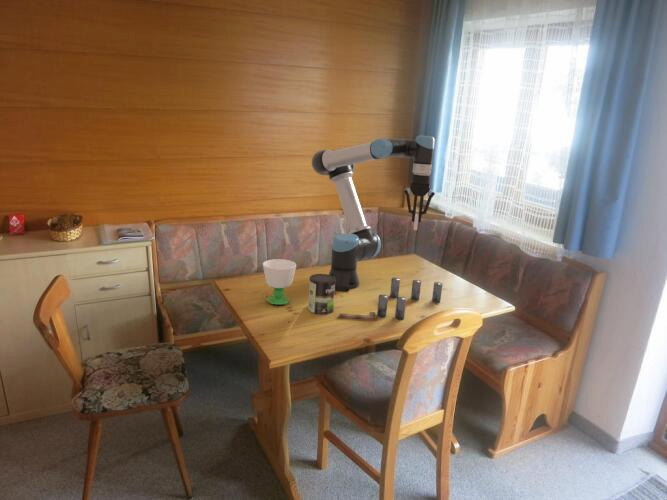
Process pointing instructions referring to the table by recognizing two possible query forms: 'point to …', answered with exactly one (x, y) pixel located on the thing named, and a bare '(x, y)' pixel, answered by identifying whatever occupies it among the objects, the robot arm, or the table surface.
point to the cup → (279, 278)
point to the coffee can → (321, 294)
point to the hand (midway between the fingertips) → (415, 229)
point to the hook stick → (359, 316)
